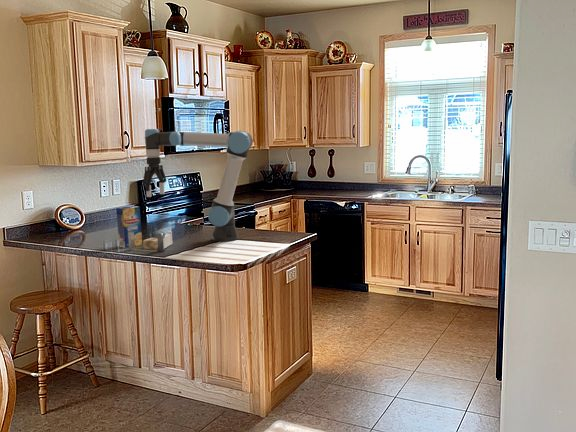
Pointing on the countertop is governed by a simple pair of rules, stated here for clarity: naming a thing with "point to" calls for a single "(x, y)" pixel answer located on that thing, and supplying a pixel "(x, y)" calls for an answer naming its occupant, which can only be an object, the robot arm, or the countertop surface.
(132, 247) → the latch post
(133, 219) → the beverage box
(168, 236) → the white upright plank
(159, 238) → the posts
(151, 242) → the oak block
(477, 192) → the countertop surface
